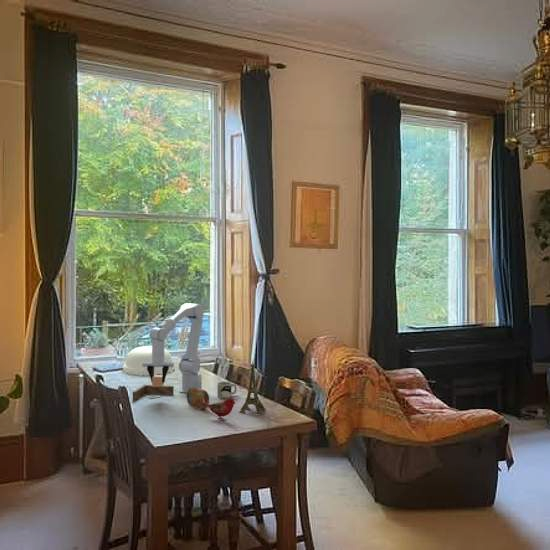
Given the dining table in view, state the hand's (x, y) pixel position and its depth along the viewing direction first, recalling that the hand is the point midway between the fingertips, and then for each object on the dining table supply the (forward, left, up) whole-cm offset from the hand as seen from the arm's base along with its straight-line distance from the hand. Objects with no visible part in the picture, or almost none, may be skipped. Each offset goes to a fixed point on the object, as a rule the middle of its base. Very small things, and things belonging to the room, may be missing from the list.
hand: (158, 382), depth 262 cm
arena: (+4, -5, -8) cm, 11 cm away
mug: (-31, -12, -9) cm, 34 cm away
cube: (0, 0, -2) cm, 2 cm away
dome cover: (+28, -65, -9) cm, 71 cm away
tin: (-22, +9, -9) cm, 25 cm away
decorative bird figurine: (-35, +26, -9) cm, 44 cm away
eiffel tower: (-47, +11, -9) cm, 49 cm away
